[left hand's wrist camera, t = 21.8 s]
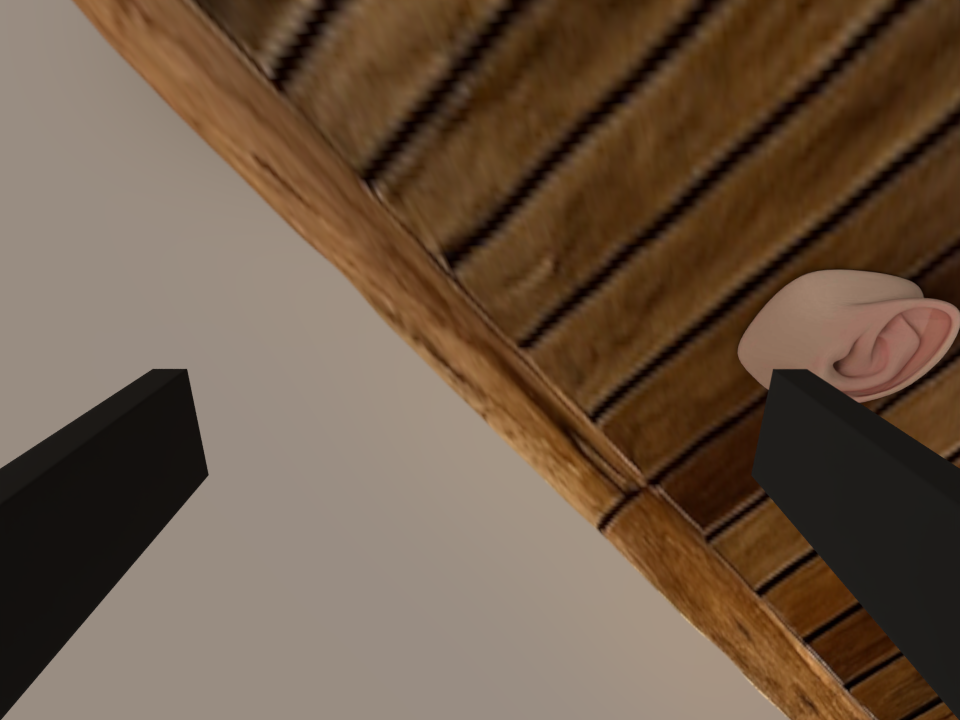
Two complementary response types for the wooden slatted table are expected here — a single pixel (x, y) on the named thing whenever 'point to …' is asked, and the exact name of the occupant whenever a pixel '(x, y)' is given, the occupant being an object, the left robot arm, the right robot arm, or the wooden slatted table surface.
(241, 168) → the wooden slatted table surface
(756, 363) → the anatomical model
